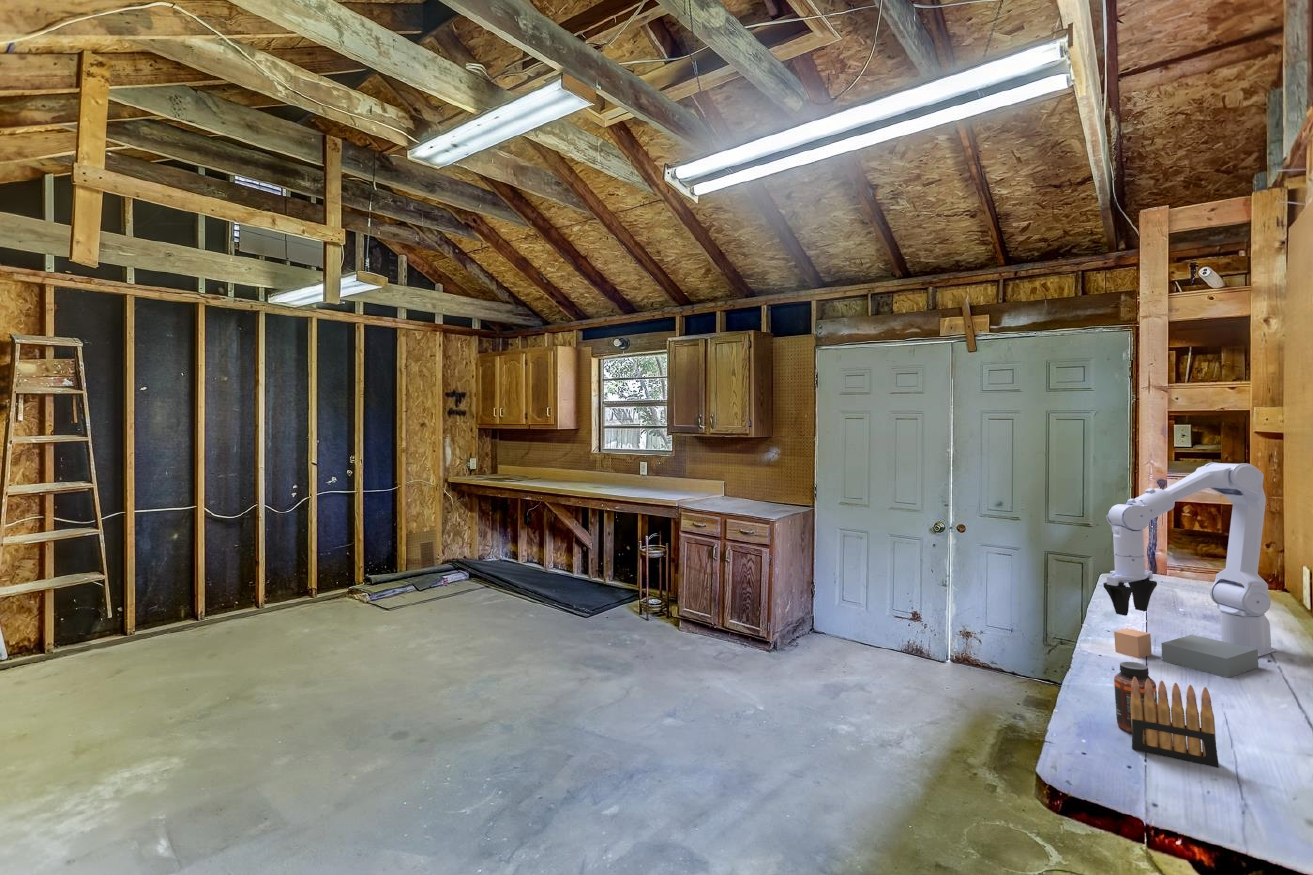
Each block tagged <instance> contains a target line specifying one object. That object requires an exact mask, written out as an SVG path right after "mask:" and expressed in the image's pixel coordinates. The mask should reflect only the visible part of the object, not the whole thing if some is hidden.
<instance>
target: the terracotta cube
mask: <svg viewBox="0 0 1313 875" xmlns="http://www.w3.org/2000/svg"><path fill="white" fill-rule="evenodd" d="M1113 635H1114V648H1115V650H1114V651H1115V653H1118V654H1120V655H1125V656H1129V657H1133V658H1136V659H1141V658H1145V657H1148V656H1152V654H1153V652H1152V641H1151V640H1152V639H1151V633H1149V632H1144V631H1141V630H1136V629H1132V628H1128V627H1127V628H1123V629H1120V630H1119V629H1117V630H1115V631H1113Z"/></svg>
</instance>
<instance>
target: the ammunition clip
mask: <svg viewBox="0 0 1313 875" xmlns="http://www.w3.org/2000/svg"><path fill="white" fill-rule="evenodd" d="M1158 684H1159V685H1158V689H1157V711H1156V704H1155V700H1154V692H1153V687H1152V684H1151V681H1150V680H1149V679H1147V680H1146V683H1145V690H1144V692H1145V695H1144V716H1143V704H1142V700H1141V694H1140V687H1139V683H1138V680H1137V678H1136V677H1135V676H1134V677H1133V680H1132V684H1131V701H1130V705H1131V723H1132V733H1131V749H1132V750H1133V751H1135V752H1142V753H1146V754H1151V755H1156V756H1160V757H1165V758H1169V759H1174V760H1179V761H1183V762H1184V761H1185V762H1189V763H1193V764H1198V765H1204V766H1208V767H1212V768H1216V769H1219V767H1220V764H1219V756H1218V749H1217V737H1216V725H1215V723H1216V722H1215V715H1214V712H1213V706H1212V699H1211V695H1210V692H1209V691H1210V690H1208V688H1207V686H1204V688H1203V689H1202V692H1201V698H1200V699H1201V700H1200V701H1201V704H1200V707H1201V708H1200V709H1201V710H1200V713H1199V710H1198V704H1197V696H1196V693H1195V689H1194V688H1193V685H1191V684H1189V685H1188V687H1187V690H1186V698H1185V699H1186V708H1185V710H1184V707H1183V706H1184V705H1183V700H1182V692H1181V689H1180V686H1179V685H1178V683H1177V682H1174V684H1173V686H1172V690H1171V707H1170V704H1169V699H1168V697H1169V696H1168V691H1167V688H1166V684H1165V683H1164V681H1163V680H1162V679H1161V680H1160V682H1159V683H1158ZM1157 713H1158V720H1157ZM1144 729H1145V730H1144ZM1158 731H1159V732H1158Z"/></svg>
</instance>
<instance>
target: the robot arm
mask: <svg viewBox="0 0 1313 875" xmlns="http://www.w3.org/2000/svg"><path fill="white" fill-rule="evenodd" d="M1264 476H1265V474H1264V473H1263V472H1262V471H1261V470H1259V469H1258V468H1257V467H1256V466H1254V465H1253V464H1250V463H1248V462H1247V463H1243V462H1242V463H1228V462H1227V463H1220V462H1213V461H1212V462H1209V463H1206V464H1204V465H1203V466H1199V467H1197V468H1196V470H1194V471H1193V472H1192V473H1190V474H1188V475H1187V476H1185V477H1183V478H1181V479H1180V480H1178V481H1176V482H1175V483H1173V484H1171V485H1169V486H1168V487H1166V488H1163V489H1162V488H1156V487H1155V488H1151V487H1149V488H1147V489H1145V490H1144V492H1145V493H1143V494H1141V495H1139V496H1137V497H1135V498H1129V499H1127V502H1126V503H1124V504H1123V503H1118V504H1115V505H1112V506H1111V508H1110V509H1109V511H1108V514H1107V515H1105V517H1106V521H1107V522H1108V524H1109V525H1110V527H1111V532H1112V535H1113V537H1112V538H1113V540H1112V541H1113V557H1114V558H1113V560H1114V570H1110V571H1109V575H1107V576H1106V582H1103V585H1102V586H1103V588H1104V590H1106V592H1107V594H1108V596H1109V597H1110V600H1111V602H1112V605H1113V606H1112V607H1113V609H1114V612H1115V614H1116V615H1120V616H1124V617H1127V616H1128V614H1129V606H1130V600H1131V595H1132V600H1133V606H1134V609H1135V610H1136V611H1141V612H1147V610H1148V607H1149V604H1150V600H1151V596H1152V595H1153V592H1154V590H1155V589H1156V587H1157V585H1158V582H1157V581H1156V580H1153V571H1152V570H1147V569H1146V568H1145V564H1146V562H1145V545H1144V544H1145V543H1144V542H1145V541H1144V530H1145V529H1147V527H1148V526H1149V523H1151V522H1150V521H1152V520H1153V519H1156V518H1157V517H1159V516H1162V515H1164V514H1165V513H1167V512H1169V511H1171V510H1173V509H1174V508H1175V506H1176V505H1175V502H1177V501H1181V499H1184V498H1186V497H1189V496H1192V495H1193V494H1195V493H1198V492H1201V491H1202V490H1205V489H1208V488H1209V489H1211V490H1212V491H1214V492H1217V493H1219V494H1221V495H1223V497H1225V498H1227V500H1228V501H1229V502H1231V504H1232V510H1231V518H1230V525H1229V536H1228V542H1227V543H1228V544H1227V553H1226V561H1225V568H1224V569H1222V570H1221V571H1219V572H1218V573H1216V574H1215V580H1214V582H1213V583H1212V585H1211V586H1210V588H1209V596H1210V599H1211V600H1212V601H1213V602H1214V603H1215V604H1216V605H1217V607H1216V608H1217V609H1219V619H1220V620H1219V622H1220V636H1221V641H1223V642H1228V643H1232V644H1237V645H1241V646H1246V647H1251V648H1255V649H1258V658H1259V657H1262V656H1265V655H1267V654H1270V653H1271V654H1272V653H1274V652H1276V651H1278V649H1277V648H1275V647H1272V638H1271V636H1272V635H1271V624H1270V621H1269V619H1268V617H1267V616H1266V615H1265V614H1266V613H1267V612H1268V611H1269V610H1270V608H1271V604H1272V602H1271V601H1272V599H1271V596H1270V594H1269V584H1268V583H1267V582H1266V581H1265V580H1264V578H1262V577H1261V575H1259V574H1258V573H1259V566H1260V565H1259V564H1260V563H1259V562H1260V555H1261V546H1262V536H1263V531H1264V520H1265V510H1266V503H1267V500H1266V499H1267V497H1266V493H1265V490H1264V487H1263V486H1264V480H1265V479H1264V478H1265V477H1264ZM1127 583H1128V585H1129V586H1126V584H1127Z"/></svg>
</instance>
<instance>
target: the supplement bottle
mask: <svg viewBox="0 0 1313 875" xmlns="http://www.w3.org/2000/svg"><path fill="white" fill-rule="evenodd" d="M1149 674H1150V673H1149V667H1148V666H1147V665H1145V664H1143V663H1140V662H1136V661H1135V662H1133V661H1122V662H1120V663H1119V673H1117V674H1115V676H1114V678H1113V683H1114V685H1113V686H1114V698H1115V701H1114V704H1115V716H1116V724H1117V725H1118V727H1119V728H1120V729H1122V730H1124V731H1126V732H1128V733H1130V734H1132V723H1131V705H1130V701H1131V684H1132V680H1133V677H1134V676H1135V677H1136V678H1137V680H1138V683H1139V687H1140V694H1141V700H1142V704H1143V716H1144V695H1145V692H1144V690H1145V683H1146V680H1147V679H1149V680H1150V681H1151V684H1152V687H1153V692H1154V700H1155V704H1156V711H1157V705H1158V689H1157V684H1156V682H1155V680H1153V678H1151V677H1150V675H1149ZM1157 720H1158V713H1157ZM1144 730H1145V729H1144ZM1158 733H1159V731H1158Z"/></svg>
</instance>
